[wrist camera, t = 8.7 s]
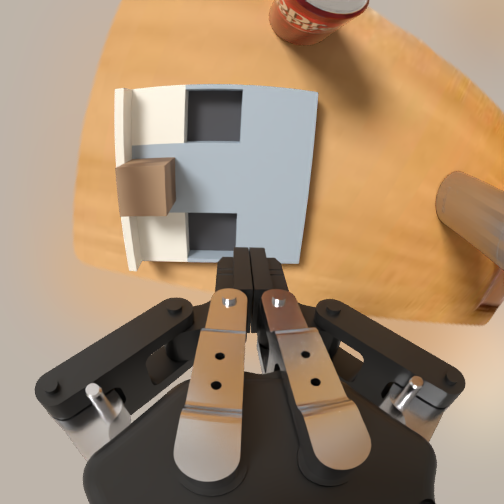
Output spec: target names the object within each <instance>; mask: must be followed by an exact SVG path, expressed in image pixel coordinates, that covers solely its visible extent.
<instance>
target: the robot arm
mask: <svg viewBox="0 0 504 504" xmlns="http://www.w3.org/2000/svg"><path fill="white" fill-rule="evenodd" d="M436 211H437V215H438V217H439V219H440V220H441V222H443V223H444V224H445V225H446V226H448V227H449V228H451V229H452V230H453V231H455V232H456V233H457V234H459V235H460V236H461V237H463V238H464V239H465V240H467V241H468V242H469V243H471V244H472V245H473V246H474V247H476V248H477V249H478V250H479V251H481V252H482V253H483V254H484V255H486V256H487V257H488V258H489V259H491V260H492V261H493V262H494V263H495V264H496V265H498V266H499V267H500V268H501V269H502V270H504V191H502V190H500V189H498V188H496V187H494V186H492V185H490V184H488V183H485V182H483V181H481V180H479V179H477V178H475V177H473V176H470V175H468V174H466V173H464V172H460V171H456V172H453V173H451V174H449V175H448V176H447V177H446V178H445V179H444V181H443V182H442V184H441V186H440V188H439V190H438V194H437V198H436ZM250 323H251V333H257V336H258V339H257V350H258V355H259V360H260V365H261V370H262V374H255V373H250V372H244V360H245V343H246V339H247V333H250ZM341 341H342V342H343V343H345V344H347V345H348V346H350V347H351V348H353V349H354V350H356V351H358V352H359V353H360V354H361V355H362V356H363V358H364V363H363V362H362V361H360V360H359V359H357V358H355V357H354V356H352V355H351V354H349V353H348V352H346V351H345V350H343V349H342V348H340V347H339V345H340V342H341ZM162 346H163V347H162ZM158 349H159V350H158ZM155 351H156V352H155ZM151 354H152V355H151ZM192 366H193V369H192V374H191V379H189V380H186V381H184V382H182V383H180V384H178V385H177V386H175V387H174V388H172V389H171V390H170V391H169V392H168V393H167V394H165V395H164V396H163V397H162V398H161V399H160V400H158V402H156V403H155V404H154V405H153V406H152V407H150V408H149V409H148V410H147V411H146V412H145V413H143V414H142V415H141V416H140V417H138V418H137V419H136V420H135V421H134V422H133V423H131V417H130V415H132V414H133V413H134V412H136V411H137V410H138V409H139V408H141V407H142V406H143V405H145V404H146V403H147V402H149V401H150V400H151V399H152V398H154V397H155V396H156V395H157V394H158V393H160V392H161V391H162V390H164V389H165V388H166V387H167V386H169V385H170V384H171V383H172V382H174V381H175V380H176V379H177V378H179V377H180V376H181V375H182V374H183V373H185V372H186V371H187V370H188V369H190V368H191V367H192ZM464 388H465V379H464V377H463V375H462V373H461V372H460V371H459V370H458V369H456V368H455V367H453V366H451V365H450V364H448V363H446V362H444V361H443V360H441V359H439V358H437V357H436V356H434V355H432V354H430V353H429V352H427V351H425V350H424V349H422V348H420V347H418V346H417V345H415V344H413V343H412V342H410V341H408V340H406V339H405V338H403V337H401V336H399V335H398V334H396V333H394V332H393V331H391V330H389V329H387V328H386V327H384V326H382V325H380V324H379V323H377V322H375V321H373V320H372V319H370V318H368V317H367V316H365V315H363V314H361V313H360V312H358V311H356V310H354V309H353V308H351V307H349V306H348V305H346V304H344V303H342V302H340V301H338V300H333V299H326V300H322V301H320V302H319V303H318V304H317V306H316V307H311V306H306V305H302V304H300V303H298V302H297V300H296V298H295V296H294V295H293V294H292V293H290V292H289V290H288V287H287V283H286V280H285V276H284V273H283V271H282V266H281V263H280V262H279V261H278V260H277V259H276V258H267V257H266V253H265V248H259V247H249V248H248V247H234V249H233V257H222V258H221V259H220V260H219V261H218V265H217V276H216V287H215V293H214V294H213V295H212V298H211V301H209V302H207V303H205V304H202V305H199V306H192V304H191V303H190V302H189V301H188V300H186V299H183V298H169V299H166V300H164V301H162V302H161V303H159V304H157V305H156V306H154V307H152V308H151V309H149V310H147V311H146V312H145V313H143V314H141V315H139V316H138V317H136V318H134V319H133V320H131V321H130V322H128V323H126V324H125V325H123V326H121V327H120V328H118V329H117V330H115V331H113V332H112V333H110V334H108V335H107V336H105V337H104V338H102V339H100V340H99V341H97V342H96V343H94V344H92V345H91V346H89V347H87V348H86V349H84V350H83V351H81V352H79V353H78V354H76V355H75V356H73V357H71V358H70V359H68V360H66V361H65V362H63V363H62V364H60V365H58V366H57V367H55V368H53V369H52V370H50V371H49V372H47V373H45V374H44V375H43V376H41V377H40V379H39V380H38V381H37V383H36V386H35V395H36V397H37V399H38V400H39V402H40V403H41V404H42V405H43V407H44V408H45V409H46V410H47V412H48V414H49V415H50V416H51V417H52V418H53V419H54V420H55V422H56V423H57V424H58V425H59V426H60V427H61V428H62V429H63V430H64V431H65V432H66V434H67V435H68V436H69V438H70V439H71V441H72V442H73V443H74V445H75V446H76V448H77V449H78V450H79V452H80V453H81V454H82V456H83V457H84V458H85V460H86V461H87V464H86V466H85V469H84V473H83V486H84V490H85V493H86V496H87V498H88V501H89V503H90V504H435V499H434V482H435V475H436V468H437V460H436V455H435V452H434V450H433V448H432V446H431V445H430V443H429V441H430V439H431V437H432V435H433V433H434V431H435V429H436V427H437V425H438V423H439V421H440V419H441V417H442V415H443V412H444V411H445V410H446V409H447V408H448V407H449V406H450V405H451V404H452V403H453V402H454V400H455V399H456V398H457V397H458V396H459V395H460V394H461V392H462V391H463V390H464ZM130 423H131V424H130Z"/></svg>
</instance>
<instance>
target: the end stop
mask: <svg viewBox="0 0 504 504" xmlns="http://www.w3.org/2000/svg"><path fill="white" fill-rule="evenodd" d="M131 116H132V89H127V88H120V89H115V154H116V168H117V167H118V166H120V165H122V164H124V163H126V162H128V161H130V160H132V125H131ZM121 221H122V229H123V236H124V242H125V249H126V255H127V260H128V266H129V271H137V270H138V268H139V266H140V264H141V262H142V256H141V249H140V241H139V233H138V225H137V216H129V217H121Z"/></svg>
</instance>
